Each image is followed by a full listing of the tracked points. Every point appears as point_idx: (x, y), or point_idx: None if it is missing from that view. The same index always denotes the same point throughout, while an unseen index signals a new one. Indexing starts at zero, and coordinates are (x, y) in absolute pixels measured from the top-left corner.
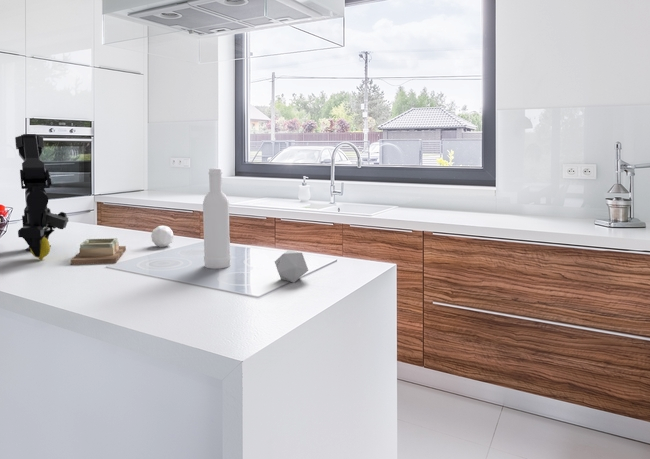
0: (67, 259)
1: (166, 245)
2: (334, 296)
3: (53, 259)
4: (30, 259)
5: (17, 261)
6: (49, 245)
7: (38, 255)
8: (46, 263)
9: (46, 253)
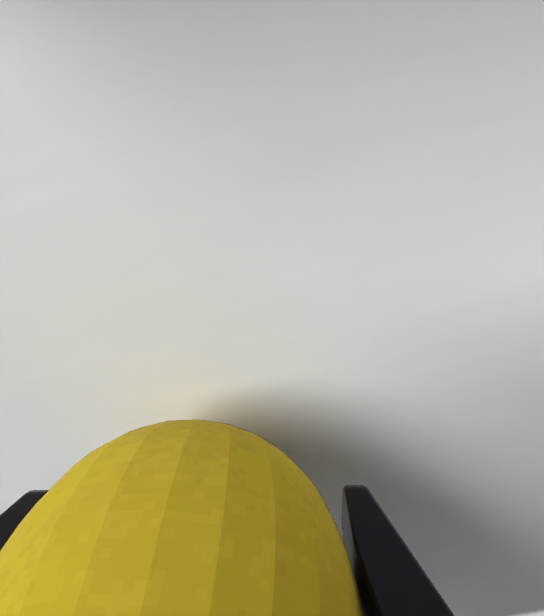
0: (220, 8)
1: None
2: None
3: (205, 290)
4: None
5: None
6: (110, 561)
7: (373, 506)
8: (504, 305)
9: (254, 443)
